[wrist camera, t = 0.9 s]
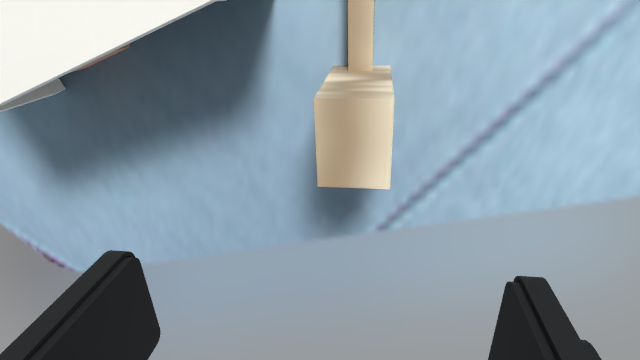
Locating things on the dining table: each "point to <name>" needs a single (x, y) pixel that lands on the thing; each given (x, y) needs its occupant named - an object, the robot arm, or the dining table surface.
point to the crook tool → (355, 112)
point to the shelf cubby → (70, 38)
